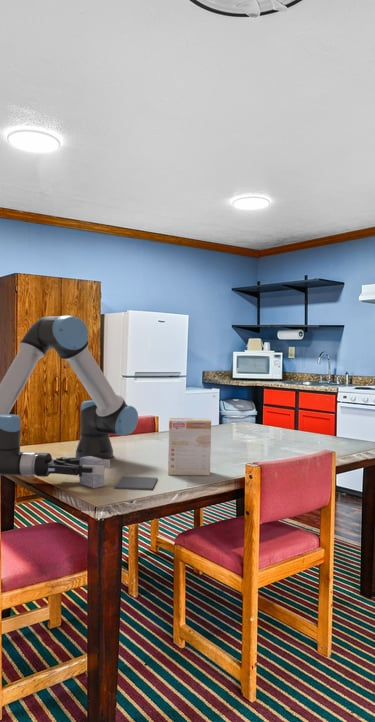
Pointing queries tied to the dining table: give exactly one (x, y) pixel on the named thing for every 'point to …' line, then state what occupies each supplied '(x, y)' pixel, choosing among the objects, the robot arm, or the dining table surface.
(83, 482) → the medicine box
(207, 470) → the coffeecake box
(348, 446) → the dining table surface
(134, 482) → the mat
